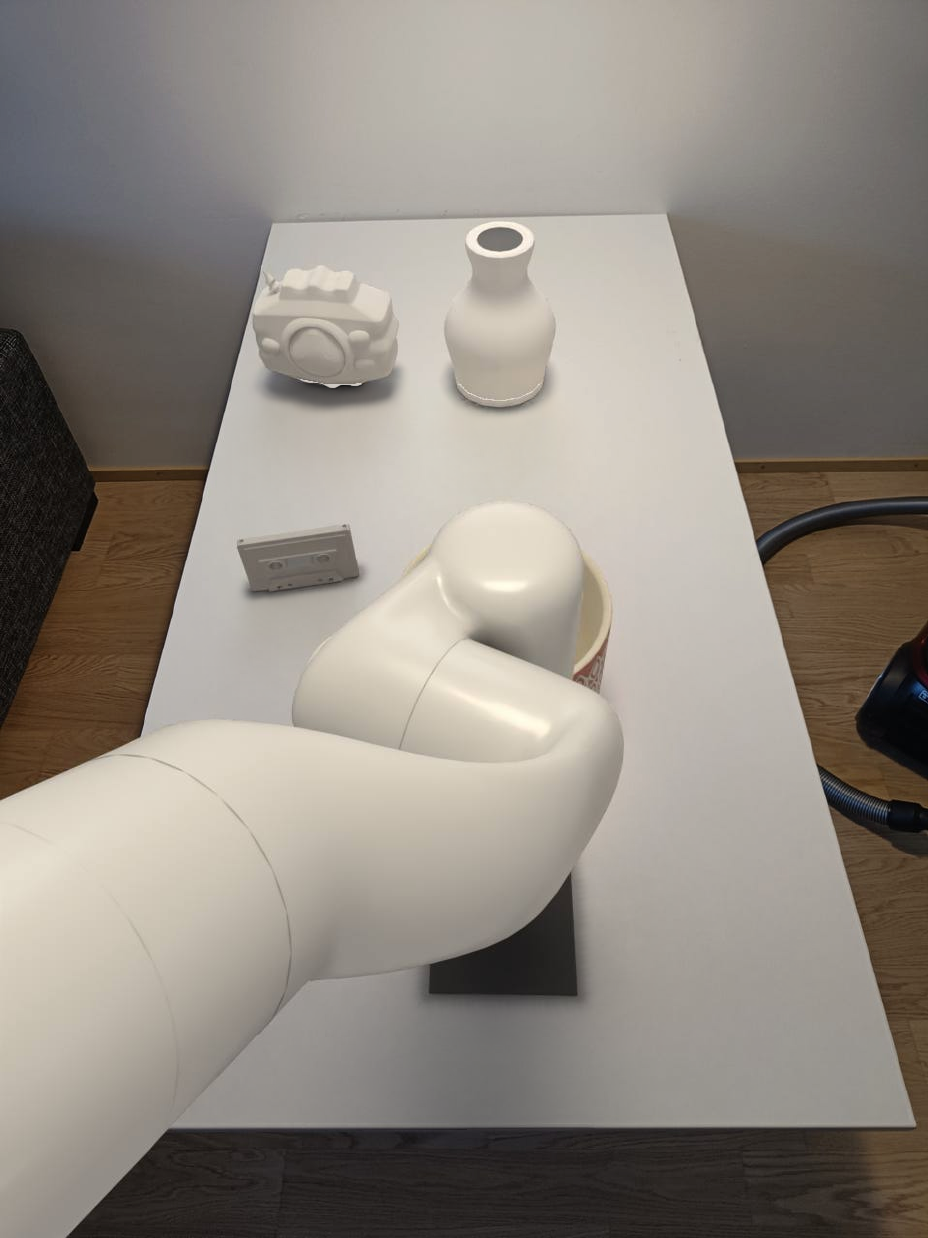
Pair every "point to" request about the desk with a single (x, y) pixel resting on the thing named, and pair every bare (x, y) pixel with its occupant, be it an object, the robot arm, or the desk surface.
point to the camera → (325, 327)
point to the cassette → (299, 558)
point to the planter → (581, 623)
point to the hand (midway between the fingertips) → (503, 823)
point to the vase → (499, 319)
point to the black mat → (519, 958)
